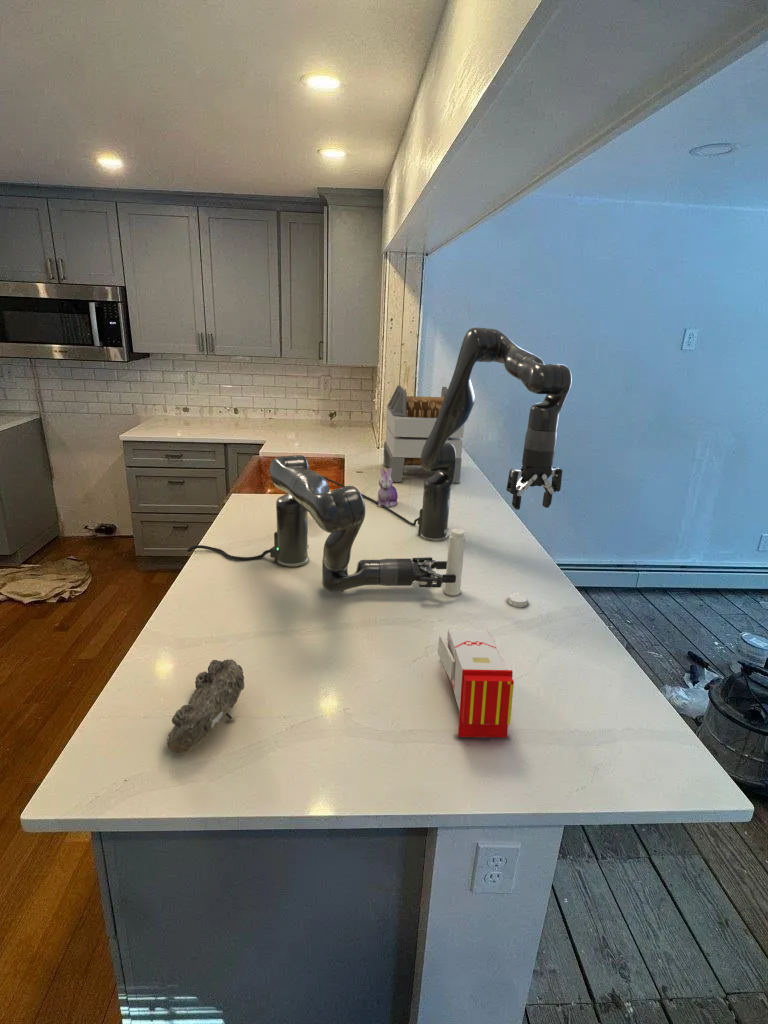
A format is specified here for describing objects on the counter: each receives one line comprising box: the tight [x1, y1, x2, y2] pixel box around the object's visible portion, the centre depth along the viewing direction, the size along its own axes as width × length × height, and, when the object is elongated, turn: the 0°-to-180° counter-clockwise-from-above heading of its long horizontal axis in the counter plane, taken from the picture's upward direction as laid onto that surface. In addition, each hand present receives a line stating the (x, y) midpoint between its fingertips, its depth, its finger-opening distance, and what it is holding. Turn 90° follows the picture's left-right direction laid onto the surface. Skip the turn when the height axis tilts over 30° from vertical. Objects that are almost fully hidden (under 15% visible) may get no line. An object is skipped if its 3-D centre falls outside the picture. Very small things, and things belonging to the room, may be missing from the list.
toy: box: [437, 628, 515, 738], centre depth 117 cm, size 12×13×30 cm
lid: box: [507, 592, 529, 608], centre depth 156 cm, size 5×5×2 cm
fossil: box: [166, 658, 245, 754], centre depth 106 cm, size 22×10×15 cm
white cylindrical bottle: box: [444, 528, 466, 596], centre depth 157 cm, size 4×4×19 cm
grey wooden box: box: [383, 384, 465, 484], centre depth 268 cm, size 34×33×41 cm
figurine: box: [377, 467, 399, 508], centre depth 227 cm, size 9×10×15 cm
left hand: (452, 571), depth 159 cm, fingers open, 8 cm apart
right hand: (531, 507), depth 147 cm, fingers open, 8 cm apart
